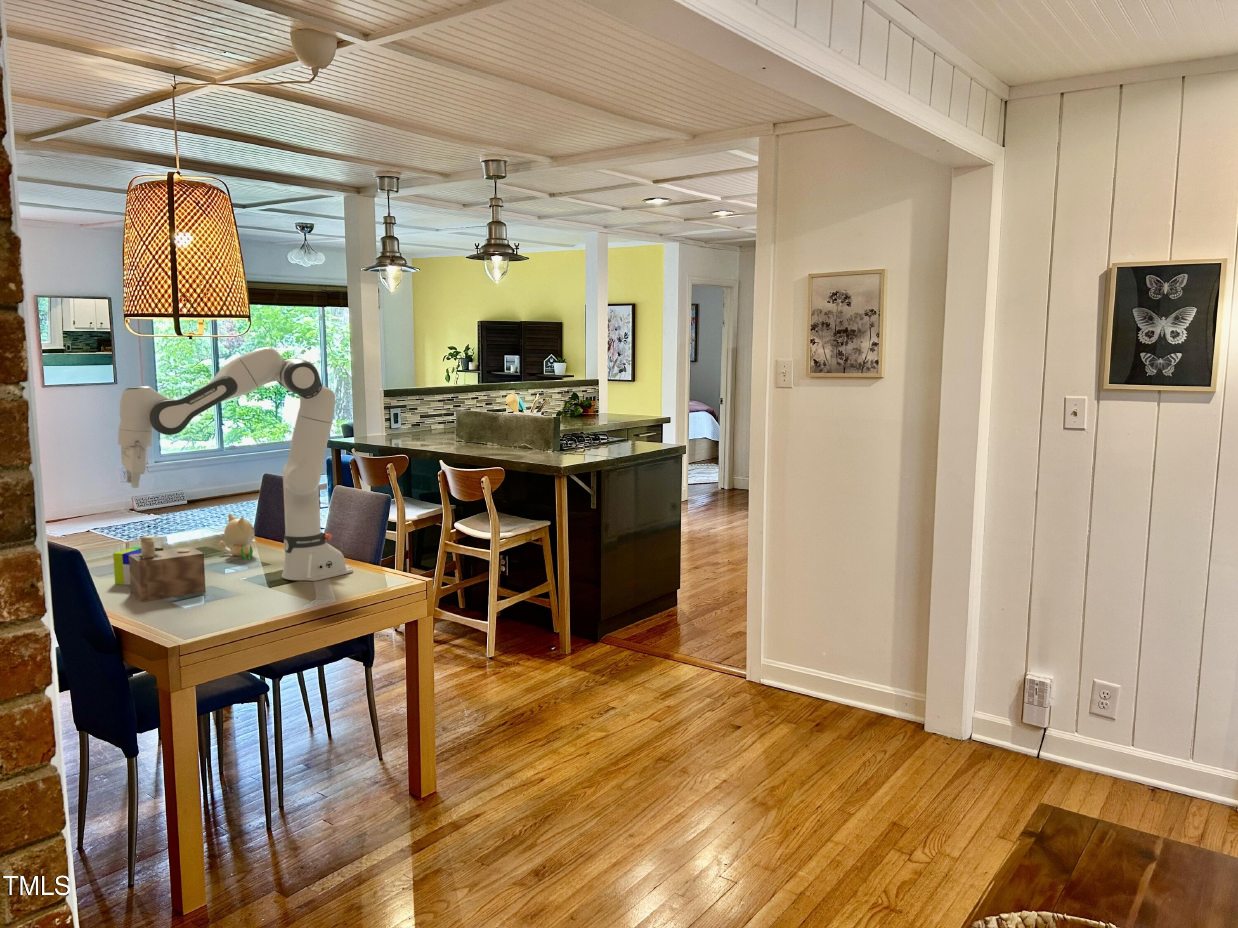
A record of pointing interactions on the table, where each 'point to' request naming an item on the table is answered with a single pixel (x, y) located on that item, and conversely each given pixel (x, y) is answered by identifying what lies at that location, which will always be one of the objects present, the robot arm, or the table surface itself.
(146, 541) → the peg
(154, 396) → the robot arm
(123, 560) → the puzzle toy
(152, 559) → the walnut block
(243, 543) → the kitten
